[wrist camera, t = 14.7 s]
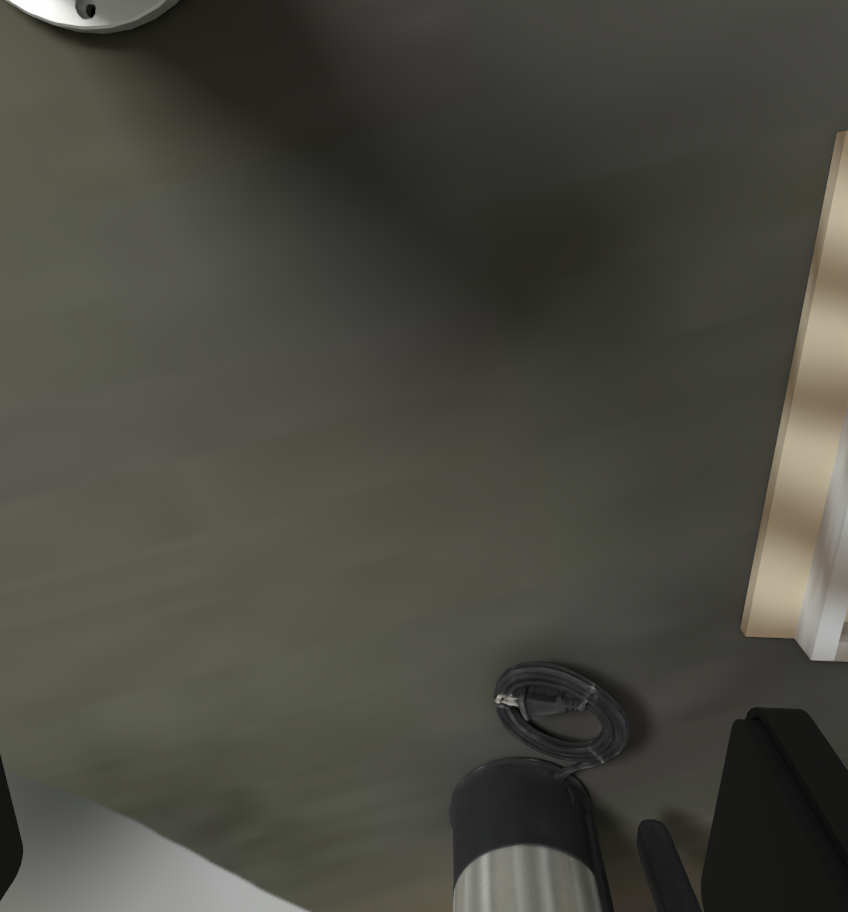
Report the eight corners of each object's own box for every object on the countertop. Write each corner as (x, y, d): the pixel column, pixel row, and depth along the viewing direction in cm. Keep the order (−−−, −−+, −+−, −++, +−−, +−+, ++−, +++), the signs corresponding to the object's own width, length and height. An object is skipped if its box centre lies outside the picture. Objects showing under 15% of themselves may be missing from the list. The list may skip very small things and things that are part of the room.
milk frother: (484, 878, 48) (495, 1155, 34) (372, 709, 43) (332, 949, 30) (682, 811, 45) (783, 1083, 31) (584, 623, 41) (650, 843, 27)
